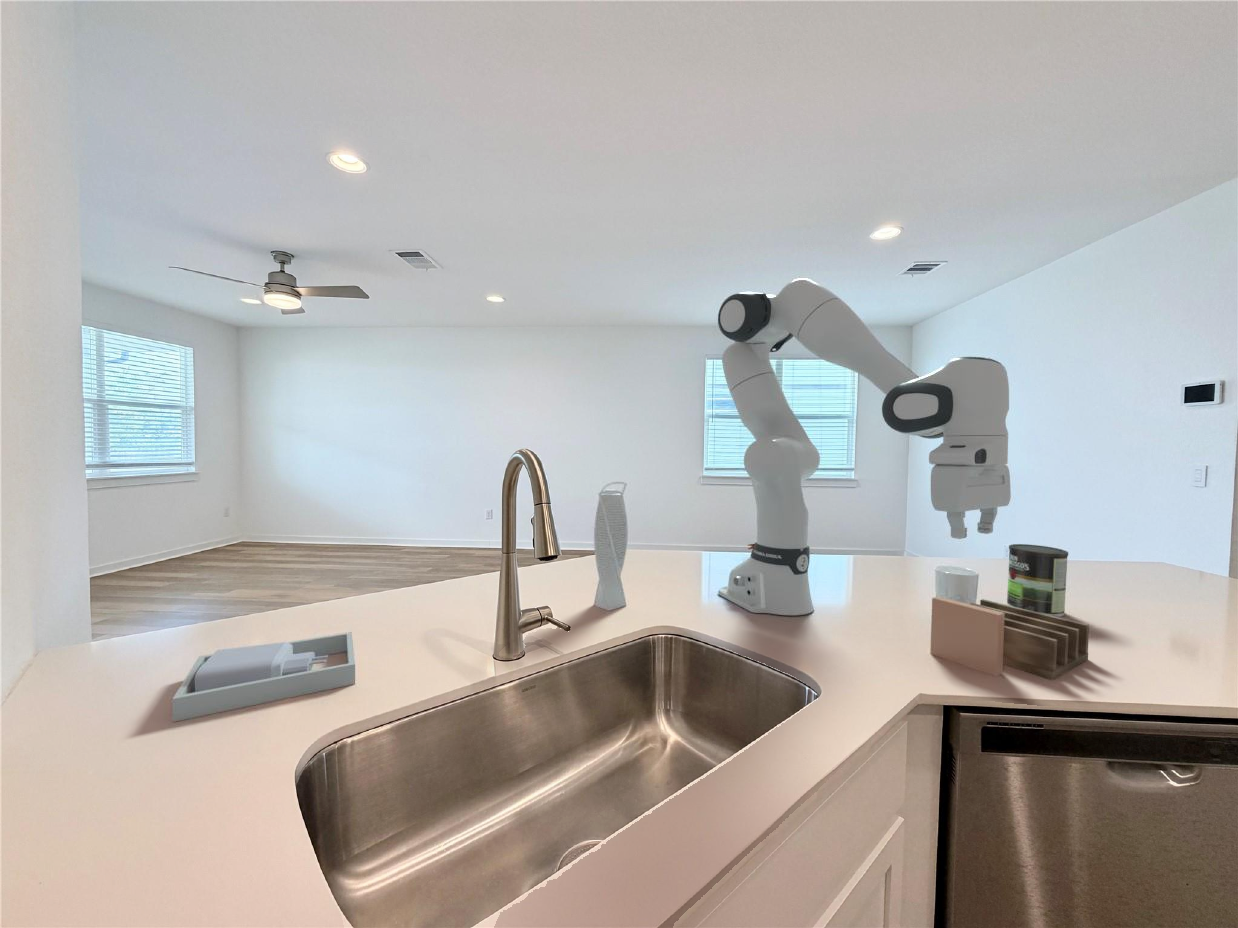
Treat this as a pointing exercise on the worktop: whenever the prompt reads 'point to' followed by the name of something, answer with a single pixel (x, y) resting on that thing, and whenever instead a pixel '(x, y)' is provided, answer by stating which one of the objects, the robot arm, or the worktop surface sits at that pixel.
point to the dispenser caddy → (268, 681)
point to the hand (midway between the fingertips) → (972, 535)
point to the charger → (252, 665)
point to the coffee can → (1037, 578)
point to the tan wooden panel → (968, 635)
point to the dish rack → (1041, 641)
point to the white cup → (956, 583)
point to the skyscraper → (610, 547)
